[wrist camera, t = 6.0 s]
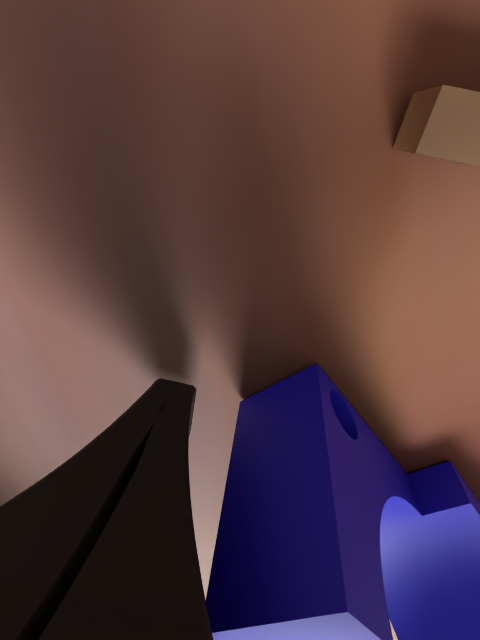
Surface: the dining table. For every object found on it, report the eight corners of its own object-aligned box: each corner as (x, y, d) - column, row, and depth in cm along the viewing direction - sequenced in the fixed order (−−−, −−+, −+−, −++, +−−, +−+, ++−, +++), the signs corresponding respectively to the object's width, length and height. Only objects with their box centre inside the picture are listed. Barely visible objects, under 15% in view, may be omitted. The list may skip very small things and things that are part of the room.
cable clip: (512, 546, 13) (652, 809, 8) (403, 567, 15) (462, 794, 10) (362, 339, 9) (452, 595, 4) (240, 401, 11) (200, 634, 6)
